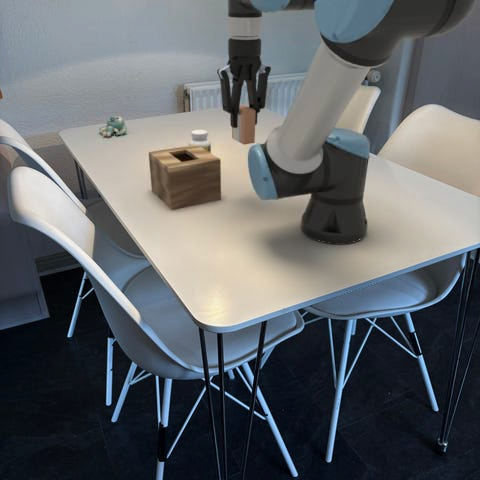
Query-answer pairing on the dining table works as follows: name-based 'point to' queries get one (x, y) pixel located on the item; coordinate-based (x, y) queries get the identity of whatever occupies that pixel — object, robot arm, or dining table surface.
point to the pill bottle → (200, 139)
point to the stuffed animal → (113, 126)
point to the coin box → (185, 176)
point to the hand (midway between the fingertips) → (243, 139)
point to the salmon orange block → (247, 124)
